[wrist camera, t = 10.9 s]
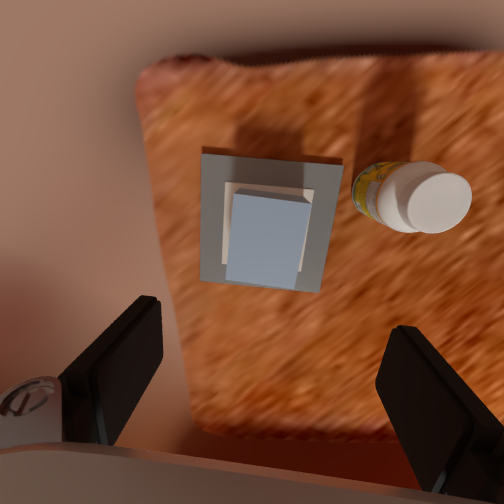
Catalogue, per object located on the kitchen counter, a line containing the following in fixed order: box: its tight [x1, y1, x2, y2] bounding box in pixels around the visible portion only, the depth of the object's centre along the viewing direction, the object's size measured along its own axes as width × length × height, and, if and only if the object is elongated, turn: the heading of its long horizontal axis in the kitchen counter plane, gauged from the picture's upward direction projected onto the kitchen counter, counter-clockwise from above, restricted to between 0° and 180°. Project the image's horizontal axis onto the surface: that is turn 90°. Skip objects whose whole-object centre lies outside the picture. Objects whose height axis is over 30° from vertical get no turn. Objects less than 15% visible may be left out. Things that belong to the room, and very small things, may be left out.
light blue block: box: [225, 188, 312, 289], centre depth 24 cm, size 6×8×5 cm
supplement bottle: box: [352, 161, 472, 233], centre depth 21 cm, size 5×5×10 cm
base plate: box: [200, 154, 344, 293], centre depth 27 cm, size 14×14×1 cm
